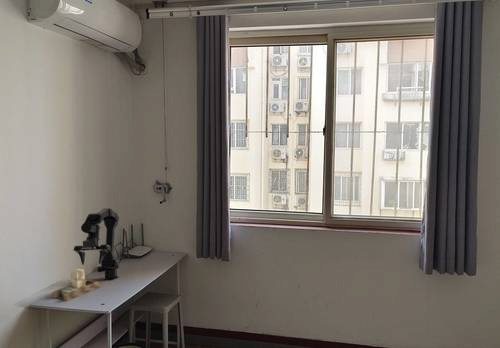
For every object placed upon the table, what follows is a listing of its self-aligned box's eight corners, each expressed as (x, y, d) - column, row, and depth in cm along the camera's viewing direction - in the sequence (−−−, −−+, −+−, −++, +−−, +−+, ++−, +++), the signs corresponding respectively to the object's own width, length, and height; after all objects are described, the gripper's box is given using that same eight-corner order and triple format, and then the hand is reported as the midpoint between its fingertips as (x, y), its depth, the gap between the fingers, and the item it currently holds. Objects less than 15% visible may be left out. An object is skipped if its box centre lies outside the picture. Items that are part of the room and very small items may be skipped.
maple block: (79, 284, 241) (78, 268, 240) (85, 285, 238) (84, 269, 238) (71, 287, 237) (70, 271, 236) (77, 288, 234) (76, 272, 233)
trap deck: (85, 284, 249) (85, 279, 249) (100, 287, 243) (99, 282, 243) (52, 297, 230) (51, 292, 230) (67, 300, 224) (66, 295, 224)
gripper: (70, 234, 227) (67, 263, 222) (104, 232, 226) (102, 262, 222) (79, 237, 238) (76, 265, 233) (112, 235, 237) (110, 264, 232)
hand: (91, 264), depth 230 cm, fingers open, 9 cm apart
